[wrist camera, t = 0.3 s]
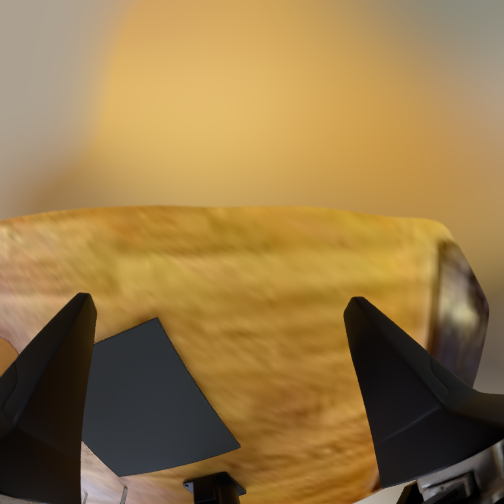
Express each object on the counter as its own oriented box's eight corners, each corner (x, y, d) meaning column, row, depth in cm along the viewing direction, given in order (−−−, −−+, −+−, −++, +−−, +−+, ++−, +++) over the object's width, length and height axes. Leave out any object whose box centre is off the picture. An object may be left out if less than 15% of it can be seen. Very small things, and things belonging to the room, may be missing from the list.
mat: (240, 445, 25) (241, 447, 25) (119, 474, 23) (118, 477, 22) (157, 316, 23) (156, 318, 22) (31, 369, 20) (30, 370, 20)
